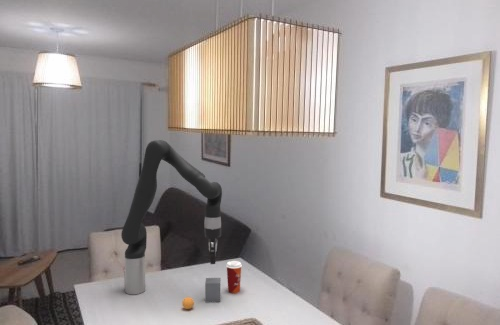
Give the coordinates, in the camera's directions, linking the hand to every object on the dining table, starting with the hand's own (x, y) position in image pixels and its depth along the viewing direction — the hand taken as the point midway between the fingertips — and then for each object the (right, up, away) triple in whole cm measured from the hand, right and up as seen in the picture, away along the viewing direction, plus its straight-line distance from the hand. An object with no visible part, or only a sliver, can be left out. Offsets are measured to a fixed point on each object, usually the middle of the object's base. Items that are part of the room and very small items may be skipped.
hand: (213, 260), depth 181 cm
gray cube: (0, -18, +1) cm, 18 cm away
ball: (-10, -16, -9) cm, 21 cm away
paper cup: (+9, -18, +11) cm, 22 cm away
